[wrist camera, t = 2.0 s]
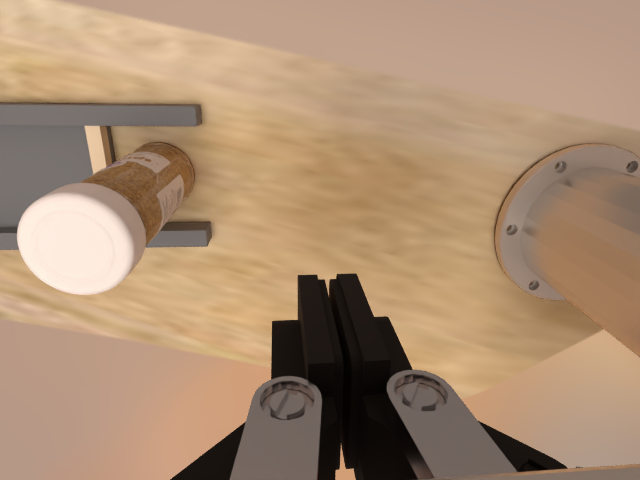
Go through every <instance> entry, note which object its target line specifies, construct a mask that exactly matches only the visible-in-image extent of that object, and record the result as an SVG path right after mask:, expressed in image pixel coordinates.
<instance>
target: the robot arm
mask: <svg viewBox="0 0 640 480" xmlns="http://www.w3.org/2000/svg"><path fill="white" fill-rule="evenodd" d="M507 227H508V228H507ZM495 246H496V252H497V257H498V259H499V262H500V264H501V266H502V269H503V270H504V271H505V273H506V274H507V275H508V277H509V278H510V279H511V280H512V281H513V282H514V283H515V284H516V285H517V286H518V287H520V288H521V289H523V290H524V291H525V292H527V293H529V294H531V295H534V296H536V297H539V298H542V299H548V300H554V301H557V300H568V301H569V302H571V303H572V304H573V305H574V306H576V307H577V308H578V309H579V310H581V311H582V312H583V313H585V314H586V315H587V316H588V317H590V318H591V319H592V320H593V321H595V322H596V323H597V324H598V325H600V326H601V327H602V328H603V329H605V330H606V331H607V332H609V333H610V334H611V335H612V336H614V337H615V338H616V339H618V340H619V341H620V342H621V343H622V344H624V345H625V346H626V347H627V348H629V349H630V350H632V351H633V352H634V353H635V354H637V355H638V356H639V357H640V158H639V157H638V156H636V155H634V154H633V153H631V152H630V151H627V150H624V149H621V148H618V147H614V146H609V145H604V144H583V145H578V146H572V147H568V148H566V149H563V150H561V151H558V152H556V153H553V154H552V155H550V156H548V157H546V158H545V159H543V160H541V161H540V162H538V163H537V164H536V165H535V166H533V167H532V168H531V169H530V170H529V171H527V172H526V173H525V174H524V175H523V176H522V178H521V179H520V180H519V181H518V182H517V183H516V184H515V186H514V187H513V188H512V190H511V192H510V193H509V195H508V196H507V198H506V200H505V202H504V204H503V206H502V209H501V211H500V213H499V216H498V221H497V225H496V230H495ZM341 445H342V451H343V457H344V462H345V467H346V469H352V468H354V473H355V478H356V480H640V464H631V465H616V466H602V467H586V468H583V467H576V468H570V469H568V468H567V467H566V466H565V465H563V464H561V463H560V462H558V461H557V460H555V459H553V458H551V457H549V456H548V455H545V454H544V453H541V452H540V451H538V450H535V449H534V448H531V447H529V446H528V445H526V444H523V443H522V442H519V441H517V440H515V439H513V438H512V437H510V436H507V435H505V434H503V433H501V432H499V431H497V430H495V429H493V428H491V427H489V426H487V425H485V424H483V423H481V422H479V421H477V419H476V418H475V417H474V416H473V414H472V413H471V412H470V410H469V409H468V408H467V407H466V405H465V404H464V403H463V401H462V400H461V399H460V397H459V396H458V395H457V394H456V392H455V391H454V390H453V389H452V387H451V386H450V385H449V384H448V383H447V382H446V381H445V380H444V379H442V378H440V377H439V376H437V375H435V374H432V373H429V372H427V371H421V370H413V369H412V367H411V365H410V363H409V361H408V359H407V356H406V354H405V352H404V350H403V348H402V346H401V343H400V341H399V339H398V337H397V335H396V333H395V330H394V328H393V326H392V324H391V322H390V320H389V318H388V317H374V316H373V314H372V311H371V309H370V306H369V304H368V301H367V299H366V296H365V294H364V291H363V289H362V286H361V284H360V281H359V279H358V276H357V274H337V276H336V279H330V283H329V296H328V292H327V288H326V283H325V280H318V277H317V275H298V320H284V321H272V369H271V380H269V381H267V382H266V383H264V384H262V386H261V387H259V388H258V389H257V390H256V392H255V394H254V396H253V398H252V402H251V406H250V409H249V413H248V416H247V420H246V422H245V423H243V424H242V425H241V426H240V427H238V428H237V429H236V430H234V431H233V432H232V433H231V434H229V435H228V436H227V437H225V438H224V439H223V440H222V441H220V442H219V443H217V444H216V445H215V446H214V447H212V448H211V449H210V450H208V451H207V452H206V453H204V454H203V455H202V456H200V457H199V458H198V459H197V460H195V461H194V462H193V463H191V464H190V465H189V466H187V467H186V468H185V469H184V470H182V471H181V472H180V473H178V474H177V475H176V476H174V477H173V478H172V479H170V480H335V470H338V469H339V468H340V449H341Z"/></svg>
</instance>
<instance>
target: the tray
mask: <svg viewBox="0 0 640 480" xmlns="http://www.w3.org/2000/svg"><path fill="white" fill-rule="evenodd" d="M200 124H202V119H201V107H200V105H187V104H93V103H0V250H19V247H18V242H17V230H18V225H19V222H20V219H21V217H22V215H23V213H24V212H25V211H26V209H27V208H28V207H29V206H30V205H31V204H32V203H34V202H35V201H36V200H38V199H39V198H41V197H43V196H44V195H46V194H48V193H50V192H52V191H54V190H56V189H58V188H60V187H62V186H65V185H69V184H73V183H80V182H82V181H83V180H85V179H87V178H89V177H90V176H92V175H93V174H94V173H96V172H98V171H100V170H102V169H103V168H105V167H107V166H109V165H111V164H113V163H114V162H115V155H114V149H113V143H112V137H111V131H110V126H198V125H200ZM210 239H211V226H210V222H168V223H165V225H164V226H163V227H162V229H161V230H160V231H159V232H158V234H157V235H156V236H155V237H154V238H153V239H152V240H151V241H150V242H149V243H148V244H147V245H146V247H206V246H208V244H209V242H210Z"/></svg>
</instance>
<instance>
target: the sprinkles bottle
mask: <svg viewBox="0 0 640 480" xmlns="http://www.w3.org/2000/svg"><path fill="white" fill-rule="evenodd" d="M193 184H194V172H193V167H192V166H191V163H190V161H189V159H188V158H187V156H186V155H185V154H184V153H183V152H181V151H180V150H179V149H177V148H175V147H173V146H171V145H169V144H165V143H150V144H145V145H143V146H141V147H140V148H138V149H137V150H135V151H134V153H132V154H129V155H127V156H125V157H123V158H121V159H119V160H118V161H116V162H114V163H113V164H111V165H109V166H107V167H105V168H103V169H102V170H100V171H98V172H96V173H94V174H93V175H92V176H90V177H89V178H87V179H85V180H83V181H82V182H80V183H73V184H69V185H65V186H62V187H60V188H58V189H56V190H54V191H52V192H50V193H48V194H46V195H44V196H43V197H41V198H39V199H38V200H36V201H35V202H34V203H32V204H31V205H30V206H29V207H28V208H27V209H26V211H25V212H24V213H23V215H22V217H21V219H20V222H19V225H18V230H17V242H18V247H19V251H20V253H21V256H22V258H23V260H24V261H25V263H26V264H27V266H28V267H29V269H30V270H31V271H32V272H33V273H34V274H35V275H36V276H37V277H38V278H39V279H40V280H42V281H43V282H45V283H46V284H48V285H50V286H52V287H53V288H56V289H58V290H61V291H63V292H67V293H71V294H77V295H92V294H98V293H102V292H105V291H107V290H110V289H112V288H114V287H115V286H117V285H118V284H119V283H121V282H122V281H123V280H124V279H125V278H126V277H127V276H128V274H129V273H130V272H131V271H132V270H133V269H134V267H135V266H136V265H137V263H138V262H139V261H140V259H141V257H142V255H143V253H144V250H145V247H146V245H147V244H148V243H149V242H150V241H151V240H152V239H153V238H154V237H155V236H156V235H157V234H158V232H159V231H160V230H161V229H162V227H163V226H164V225H165V223H166V222H167V221H168V220H169V218H170V217H171V216H172V215H173V213H174V212H175V211H176V209H177V208H178V207H179V205H180V204H181V202H182V201H183V200H184V199H185V198H186V197H187V196H188V195H189V193H190V192H191V190H192V188H193Z"/></svg>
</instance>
